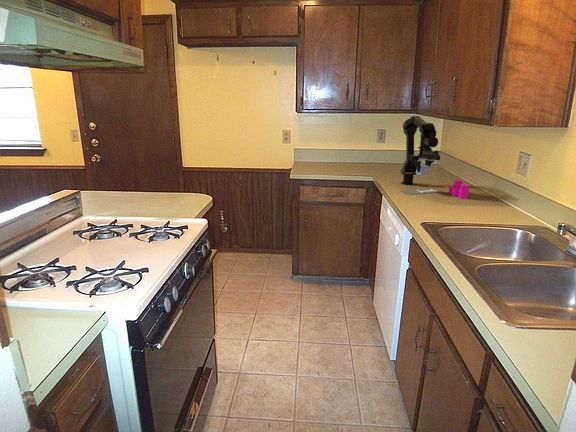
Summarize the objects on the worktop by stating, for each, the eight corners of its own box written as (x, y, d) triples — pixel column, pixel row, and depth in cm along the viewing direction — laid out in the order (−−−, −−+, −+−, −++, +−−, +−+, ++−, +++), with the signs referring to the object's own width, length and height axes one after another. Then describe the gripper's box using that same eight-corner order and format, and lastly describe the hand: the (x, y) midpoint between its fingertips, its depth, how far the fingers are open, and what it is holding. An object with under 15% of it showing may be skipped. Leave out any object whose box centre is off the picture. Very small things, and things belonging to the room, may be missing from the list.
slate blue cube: (416, 173, 232) (416, 165, 230) (423, 173, 233) (424, 164, 232) (421, 175, 227) (421, 166, 226) (428, 174, 229) (429, 166, 227)
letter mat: (400, 191, 232) (400, 190, 232) (432, 188, 239) (432, 188, 239) (409, 194, 224) (409, 194, 224) (442, 192, 231) (442, 191, 231)
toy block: (448, 192, 231) (450, 180, 228) (459, 192, 230) (461, 180, 228) (455, 198, 216) (457, 185, 214) (467, 199, 216) (469, 185, 213)
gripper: (419, 147, 216) (416, 175, 220) (448, 146, 221) (444, 174, 225) (408, 145, 226) (405, 172, 230) (435, 144, 231) (432, 170, 235)
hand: (422, 172), depth 230 cm, fingers closed on slate blue cube, 5 cm apart
